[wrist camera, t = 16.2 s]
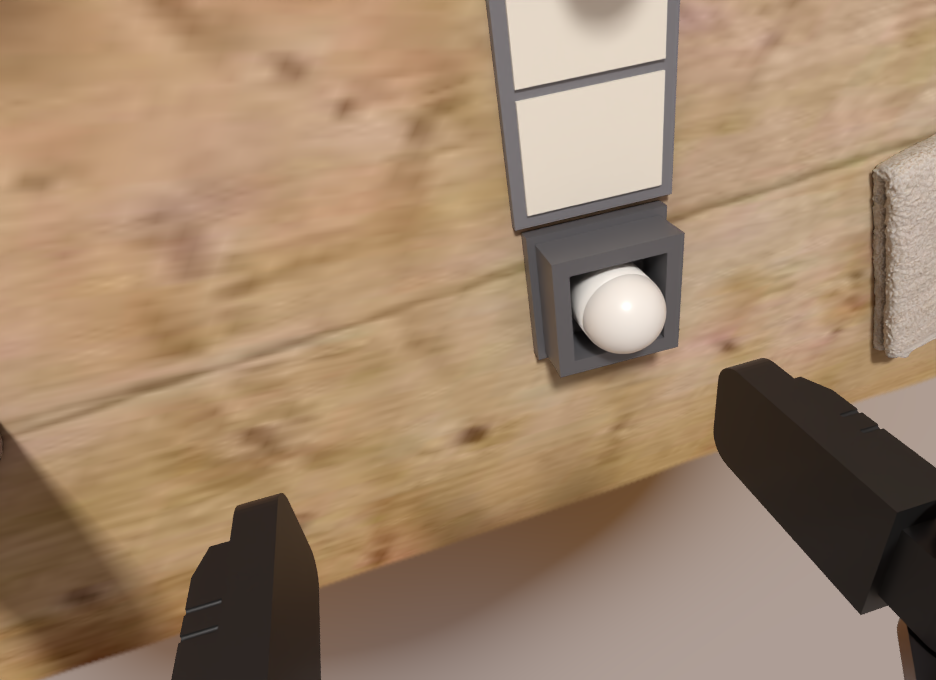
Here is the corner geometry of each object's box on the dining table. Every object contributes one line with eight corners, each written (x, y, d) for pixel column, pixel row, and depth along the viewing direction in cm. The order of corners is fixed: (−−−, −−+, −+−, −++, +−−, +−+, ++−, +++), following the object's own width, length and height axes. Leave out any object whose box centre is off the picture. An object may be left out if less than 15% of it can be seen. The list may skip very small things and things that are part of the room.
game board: (512, 226, 35) (516, 231, 35) (451, -289, 23) (455, -297, 22) (666, 190, 36) (673, 194, 36) (686, -323, 24) (696, -331, 23)
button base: (534, 352, 41) (553, 385, 37) (521, 232, 36) (542, 259, 32) (655, 320, 41) (684, 350, 38) (658, 200, 36) (693, 222, 33)
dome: (567, 331, 38) (600, 379, 34) (562, 263, 36) (598, 306, 31) (638, 313, 39) (680, 358, 34) (638, 245, 36) (685, 284, 32)
